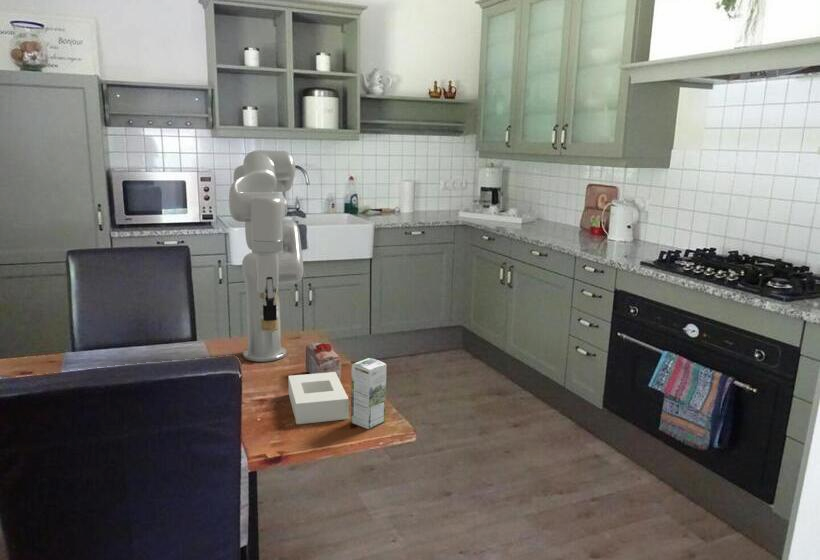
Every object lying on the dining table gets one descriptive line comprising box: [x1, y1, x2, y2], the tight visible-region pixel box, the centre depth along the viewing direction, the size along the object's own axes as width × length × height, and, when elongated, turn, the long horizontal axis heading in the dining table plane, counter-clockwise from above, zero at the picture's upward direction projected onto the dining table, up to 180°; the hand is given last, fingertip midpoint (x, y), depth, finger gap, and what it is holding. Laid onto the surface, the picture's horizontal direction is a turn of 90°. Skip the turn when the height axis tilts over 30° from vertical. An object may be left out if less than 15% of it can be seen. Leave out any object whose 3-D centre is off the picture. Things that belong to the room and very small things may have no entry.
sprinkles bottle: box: [260, 288, 279, 332], centre depth 155 cm, size 5×5×14 cm
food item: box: [305, 342, 342, 381], centre depth 167 cm, size 14×8×10 cm, turn 27°
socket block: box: [287, 372, 350, 425], centre depth 149 cm, size 18×12×5 cm, turn 16°
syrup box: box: [350, 357, 388, 430], centre depth 140 cm, size 6×6×14 cm
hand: (269, 316), depth 155 cm, fingers closed on sprinkles bottle, 4 cm apart
